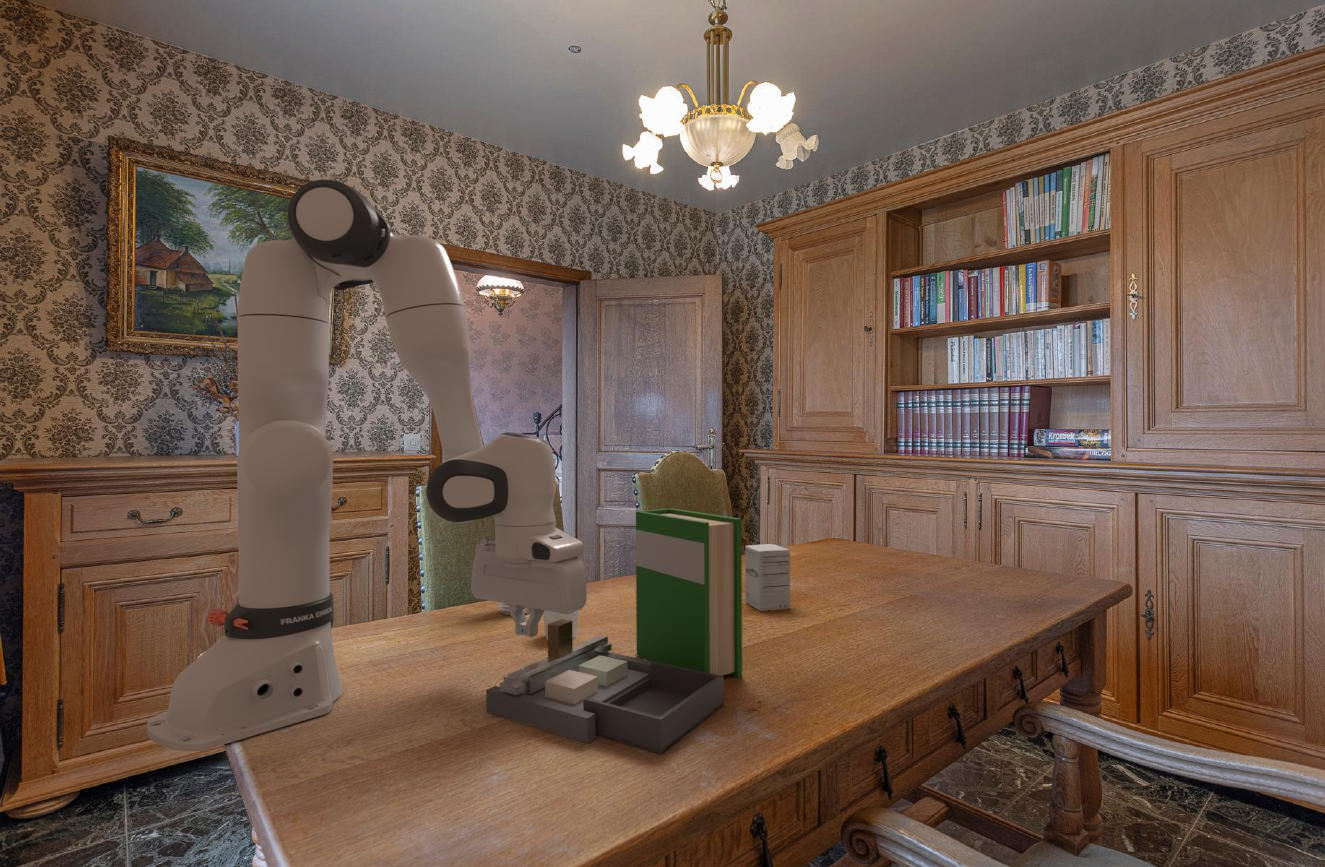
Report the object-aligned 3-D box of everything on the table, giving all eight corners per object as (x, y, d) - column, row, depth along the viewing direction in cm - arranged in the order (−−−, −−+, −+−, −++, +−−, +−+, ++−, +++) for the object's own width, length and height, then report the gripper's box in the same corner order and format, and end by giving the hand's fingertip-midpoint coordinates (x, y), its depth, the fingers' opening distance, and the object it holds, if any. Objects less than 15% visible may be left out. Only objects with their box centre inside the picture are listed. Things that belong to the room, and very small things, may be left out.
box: (661, 754, 76) (661, 719, 76) (579, 730, 82) (579, 698, 82) (723, 705, 90) (723, 675, 90) (649, 687, 96) (649, 660, 96)
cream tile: (574, 704, 85) (574, 688, 85) (545, 696, 88) (545, 681, 88) (597, 691, 90) (597, 676, 90) (569, 684, 92) (569, 669, 92)
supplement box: (744, 603, 143) (744, 545, 143) (775, 600, 145) (774, 543, 145) (759, 611, 136) (758, 550, 136) (791, 608, 138) (791, 548, 138)
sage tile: (606, 686, 91) (606, 672, 91) (578, 679, 94) (578, 665, 94) (627, 675, 96) (627, 661, 96) (599, 668, 98) (599, 655, 98)
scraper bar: (516, 703, 85) (516, 644, 85) (499, 698, 86) (499, 640, 86) (611, 657, 102) (611, 607, 102) (596, 653, 104) (595, 604, 104)
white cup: (572, 643, 116) (572, 604, 116) (536, 641, 118) (536, 602, 118) (585, 632, 123) (584, 594, 123) (550, 630, 124) (550, 592, 124)
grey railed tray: (587, 743, 79) (587, 718, 79) (486, 712, 88) (486, 689, 88) (675, 686, 96) (675, 666, 96) (583, 665, 105) (583, 646, 105)
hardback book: (742, 676, 100) (741, 518, 100) (704, 687, 96) (704, 522, 96) (671, 646, 115) (671, 508, 115) (636, 655, 110) (635, 511, 110)
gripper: (460, 539, 101) (461, 629, 101) (564, 551, 90) (565, 652, 90) (491, 533, 106) (492, 619, 106) (592, 544, 95) (593, 640, 95)
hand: (526, 635), depth 98 cm, fingers closed
